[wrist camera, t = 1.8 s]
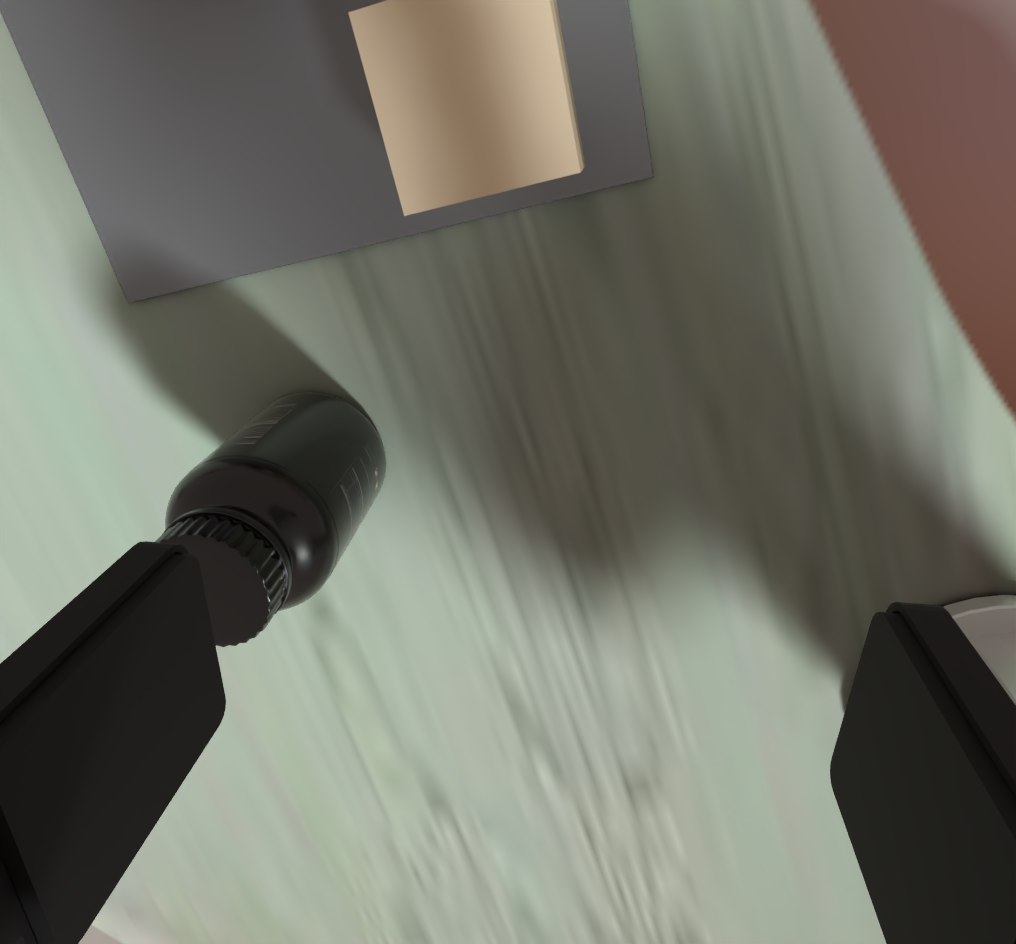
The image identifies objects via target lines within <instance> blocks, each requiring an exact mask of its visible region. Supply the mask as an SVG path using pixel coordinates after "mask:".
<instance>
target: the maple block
mask: <svg viewBox="0 0 1016 944" xmlns="http://www.w3.org/2000/svg"><path fill="white" fill-rule="evenodd" d="M348 13H349V17H350V21H351V24H352V28H353V31H354V35H355V39H356V42H357V46H358V50H359V53H360V57H361V61H362V64H363V68H364V71H365V75H366V79H367V82H368V86H369V90H370V93H371V97H372V101H373V104H374V108H375V111H376V115H377V119H378V122H379V126H380V130H381V133H382V137H383V140H384V144H385V148H386V151H387V155H388V159H389V162H390V166H391V170H392V173H393V177H394V180H395V184H396V188H397V191H398V195H399V199H400V202H401V206H402V210H403V213H404V216H407V215H411V214H415V213H419V212H423V211H427V210H431V209H435V208H439V207H443V206H447V205H451V204H455V203H459V202H463V201H467V200H472V199H476V198H480V197H484V196H488V195H492V194H496V193H500V192H504V191H508V190H512V189H516V188H520V187H524V186H528V185H532V184H536V183H541V182H545V181H549V180H553V179H557V178H561V177H565V176H569V175H573V174H577V173H581V171H582V170H583V168H584V167H585V160H584V155H583V149H582V143H581V138H580V132H579V126H578V121H577V115H576V109H575V104H574V98H573V92H572V87H571V81H570V75H569V70H568V64H567V58H566V53H565V47H564V41H563V36H562V30H561V24H560V19H559V13H558V7H557V2H556V0H386V1H383V2H380V3H377V4H374V5H370V6H367V7H364V8H361V9H358V10H355V11H351V12H348Z"/></svg>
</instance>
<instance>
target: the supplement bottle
mask: <svg viewBox="0 0 1016 944" xmlns="http://www.w3.org/2000/svg"><path fill="white" fill-rule="evenodd" d="M385 472H386V457H385V451H384V447H383V444H382V441H381V439H380V437H379V435H378V433H377V431H376V429H375V428H374V426H373V425H372V424H371V422H370V421H369V420H368V419H367V418H366V417H365V416H364V415H363V414H362V413H361V412H360V411H359V410H358V409H356V408H355V407H354V406H352V405H351V404H349V403H347V402H346V401H344V400H342V399H340V398H338V397H335V396H332V395H329V394H325V393H319V392H299V393H293V394H289V395H286V396H283V397H281V398H279V399H277V400H276V401H274V402H273V403H271V404H270V405H268V406H267V407H266V408H265V409H263V410H262V411H261V412H259V413H258V414H257V415H256V416H255V417H253V418H252V419H251V420H250V421H249V422H248V423H246V424H245V425H244V426H243V427H242V428H241V429H239V430H238V431H237V432H236V433H235V434H234V435H232V436H231V437H230V438H229V439H228V440H226V441H225V442H224V443H223V444H222V445H221V446H219V447H218V448H217V449H216V450H215V451H214V452H212V453H211V454H210V455H209V456H208V457H206V458H205V459H204V460H203V461H202V462H201V463H199V464H198V465H197V466H196V467H195V468H194V469H192V470H191V471H190V472H189V473H188V474H187V475H186V476H185V477H184V478H183V479H182V480H181V481H180V483H179V484H178V485H177V487H176V488H175V490H174V492H173V493H172V495H171V498H170V500H169V503H168V507H167V511H166V519H165V529H166V530H165V531H164V533H163V534H162V536H161V537H159V538H158V539H157V540H156V541H155V542H157V543H169V544H180V545H182V546H184V547H185V548H186V549H187V551H188V553H189V555H192V556H194V557H196V558H197V560H198V562H199V565H200V570H201V575H202V580H203V585H204V590H205V595H206V601H207V606H208V611H209V616H210V621H211V626H212V631H213V636H214V641H215V646H216V645H218V646H222V647H225V646H228V645H232V646H236V645H238V644H239V643H246V642H247V641H248V640H249V639H251V638H255V637H256V636H257V635H258V634H259V632H261V631H262V630H264V629H265V627H266V626H267V625H268V623H269V622H270V620H271V619H272V617H273V615H274V614H275V613H277V611H281V610H285V609H288V608H291V607H294V606H296V605H299V604H300V603H302V602H304V601H306V600H308V599H309V598H311V597H312V596H313V595H314V594H315V593H317V592H318V591H319V590H320V588H321V587H322V586H323V585H324V583H325V582H326V581H327V579H328V578H329V576H330V575H331V573H332V572H333V570H334V568H335V567H336V565H337V563H338V561H339V560H340V558H341V556H342V555H343V553H344V551H345V550H346V548H347V546H348V545H349V543H350V541H351V539H352V538H353V536H354V534H355V533H356V531H357V529H358V528H359V526H360V524H361V523H362V521H363V519H364V517H365V516H366V514H367V512H368V511H369V509H370V507H371V506H372V504H373V502H374V500H375V499H376V497H377V495H378V493H379V491H380V489H381V487H382V484H383V481H384V478H385Z"/></svg>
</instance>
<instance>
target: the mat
mask: <svg viewBox="0 0 1016 944" xmlns="http://www.w3.org/2000/svg"><path fill="white" fill-rule="evenodd" d="M383 1H386V0H0V12H1V14H2V16H3V18H4V21H5V23H6V25H7V28H8V30H9V32H10V34H11V37H12V39H13V41H14V43H15V46H16V48H17V50H18V53H19V55H20V57H21V59H22V62H23V64H24V66H25V69H26V71H27V73H28V75H29V78H30V80H31V82H32V85H33V87H34V89H35V91H36V94H37V96H38V98H39V101H40V103H41V105H42V107H43V110H44V112H45V114H46V116H47V119H48V121H49V123H50V126H51V128H52V130H53V132H54V135H55V137H56V139H57V142H58V144H59V146H60V148H61V151H62V153H63V155H64V158H65V160H66V162H67V164H68V167H69V169H70V171H71V174H72V176H73V178H74V180H75V183H76V185H77V187H78V189H79V192H80V194H81V196H82V199H83V201H84V203H85V205H86V208H87V210H88V212H89V215H90V217H91V219H92V221H93V224H94V226H95V228H96V231H97V233H98V235H99V237H100V240H101V242H102V244H103V246H104V249H105V251H106V253H107V256H108V258H109V260H110V262H111V265H112V267H113V269H114V272H115V274H116V276H117V278H118V281H119V283H120V285H121V288H122V290H123V292H124V294H125V297H126V299H127V301H128V303H131V302H135V301H139V300H143V299H147V298H151V297H156V296H160V295H164V294H168V293H172V292H176V291H181V290H185V289H189V288H193V287H197V286H201V285H206V284H210V283H214V282H218V281H222V280H226V279H231V278H235V277H239V276H243V275H247V274H251V273H256V272H260V271H264V270H268V269H272V268H276V267H280V266H285V265H289V264H293V263H297V262H301V261H305V260H310V259H314V258H318V257H322V256H326V255H330V254H335V253H339V252H343V251H347V250H351V249H355V248H360V247H364V246H368V245H372V244H376V243H380V242H385V241H389V240H393V239H397V238H401V237H405V236H410V235H414V234H418V233H422V232H426V231H430V230H435V229H439V228H443V227H447V226H451V225H455V224H460V223H464V222H468V221H472V220H476V219H480V218H485V217H489V216H493V215H497V214H501V213H505V212H510V211H514V210H518V209H522V208H526V207H530V206H534V205H539V204H543V203H547V202H551V201H555V200H559V199H564V198H568V197H572V196H576V195H580V194H584V193H589V192H593V191H597V190H601V189H605V188H609V187H614V186H618V185H622V184H626V183H630V182H634V181H639V180H643V179H647V178H651V177H653V172H652V165H651V158H650V151H649V144H648V137H647V130H646V123H645V116H644V109H643V102H642V95H641V88H640V81H639V74H638V67H637V60H636V53H635V46H634V39H633V32H632V25H631V18H630V11H629V4H628V0H556V2H557V7H558V13H559V19H560V24H561V30H562V36H563V41H564V47H565V53H566V58H567V64H568V70H569V75H570V81H571V87H572V92H573V98H574V104H575V109H576V115H577V121H578V126H579V132H580V138H581V143H582V149H583V155H584V160H585V167H584V168H583V170H582V171H581V173H577V174H573V175H569V176H565V177H561V178H557V179H553V180H549V181H545V182H541V183H536V184H532V185H528V186H524V187H520V188H516V189H512V190H508V191H504V192H500V193H496V194H492V195H488V196H484V197H480V198H476V199H472V200H467V201H463V202H459V203H455V204H451V205H447V206H443V207H439V208H435V209H431V210H427V211H423V212H419V213H415V214H411V215H407V216H404V213H403V210H402V206H401V202H400V199H399V195H398V191H397V188H396V184H395V180H394V177H393V173H392V170H391V166H390V162H389V159H388V155H387V151H386V148H385V144H384V140H383V137H382V133H381V130H380V126H379V122H378V119H377V115H376V111H375V108H374V104H373V101H372V97H371V93H370V90H369V86H368V82H367V79H366V75H365V71H364V68H363V64H362V61H361V57H360V53H359V50H358V46H357V42H356V39H355V35H354V31H353V28H352V24H351V21H350V17H349V13H348V12H351V11H355V10H358V9H361V8H364V7H367V6H370V5H374V4H377V3H380V2H383Z"/></svg>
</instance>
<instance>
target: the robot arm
mask: <svg viewBox="0 0 1016 944" xmlns="http://www.w3.org/2000/svg"><path fill="white" fill-rule="evenodd" d="M225 705H226V699H225V693H224V688H223V682H222V677H221V672H220V667H219V662H218V657H217V652H216V647H215V641H214V636H213V631H212V626H211V621H210V616H209V611H208V606H207V601H206V595H205V590H204V585H203V580H202V575H201V570H200V565H199V562H198V560H197V558H196V557H194V556H192V555H189V553H188V551H187V549H186V548H185V547H184V546H182V545H180V544H169V543H157V542H139V543H137V544H136V545H134V546H133V547H132V548H131V549H130V550H129V551H127V552H126V553H125V554H124V555H123V556H122V557H121V558H119V559H118V560H117V561H116V562H115V563H114V564H113V565H112V566H110V567H109V568H108V569H107V570H106V571H105V572H104V573H103V574H101V575H100V576H99V577H98V578H97V579H96V580H95V581H93V582H92V583H91V584H90V585H89V586H88V587H87V588H86V589H84V590H83V591H82V592H81V593H80V594H79V595H78V596H77V597H75V598H74V599H73V600H72V601H71V602H70V603H69V604H67V605H66V606H65V607H64V608H63V609H62V610H61V611H60V612H58V613H57V614H56V615H55V616H54V617H53V618H52V619H51V620H49V621H48V622H47V623H46V624H45V625H44V626H43V627H41V628H40V629H39V630H38V631H37V632H36V633H35V634H34V635H32V636H31V637H30V638H29V639H28V640H27V641H26V642H25V643H23V644H22V645H21V646H20V647H19V648H18V649H17V650H16V651H14V652H13V653H12V654H11V655H10V656H9V657H8V658H6V659H5V660H4V661H3V662H2V663H1V664H0V944H78V943H79V941H80V940H81V939H82V938H83V936H84V935H85V933H86V931H87V930H88V928H89V927H90V925H91V924H92V922H93V921H94V919H95V917H96V916H97V914H98V913H99V911H100V910H101V908H102V907H103V905H104V904H105V902H106V900H107V899H108V897H109V896H110V894H111V893H112V891H113V890H114V888H115V886H116V885H117V883H118V882H119V880H120V879H121V877H122V876H123V874H124V872H125V871H126V869H127V868H128V866H129V865H130V863H131V862H132V860H133V859H134V857H135V855H136V854H137V852H138V851H139V849H140V848H141V846H142V845H143V843H144V841H145V840H146V838H147V837H148V835H149V834H150V832H151V831H152V829H153V828H154V826H155V824H156V823H157V821H158V820H159V818H160V817H161V815H162V814H163V812H164V810H165V809H166V807H167V806H168V804H169V803H170V801H171V800H172V798H173V796H174V795H175V793H176V792H177V790H178V789H179V787H180V786H181V784H182V783H183V781H184V779H185V778H186V776H187V775H188V773H189V772H190V770H191V769H192V767H193V765H194V764H195V762H196V761H197V759H198V758H199V756H200V755H201V753H202V751H203V750H204V748H205V747H206V745H207V744H208V742H209V741H210V739H211V738H212V736H213V734H214V733H215V731H216V730H217V728H218V727H219V725H220V723H221V721H222V718H223V716H224V712H225ZM830 777H831V784H832V788H833V792H834V795H835V798H836V800H837V803H838V806H839V809H840V812H841V815H842V818H843V820H844V823H845V826H846V829H847V832H848V835H849V838H850V840H851V843H852V846H853V849H854V852H855V855H856V858H857V860H858V863H859V866H860V869H861V872H862V875H863V877H864V880H865V883H866V886H867V889H868V892H869V895H870V897H871V900H872V903H873V906H874V909H875V912H876V915H877V917H878V920H879V923H880V926H881V929H882V932H883V935H884V937H885V940H886V943H887V944H1016V595H997V596H988V597H979V598H972V599H969V600H965V601H961V602H957V603H953V604H949V605H946V606H943V607H941V606H936V605H924V604H912V603H899V602H895V603H893V604H891V605H890V606H889V608H888V609H887V611H886V612H878V613H876V614H875V615H874V616H873V618H872V621H871V624H870V628H869V631H868V634H867V638H866V641H865V645H864V648H863V652H862V655H861V659H860V662H859V666H858V669H857V673H856V676H855V680H854V683H853V686H852V690H851V693H850V697H849V700H848V704H847V707H846V711H845V714H844V718H843V721H842V725H841V728H840V732H839V735H838V738H837V742H836V745H835V749H834V752H833V756H832V760H831V766H830Z"/></svg>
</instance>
